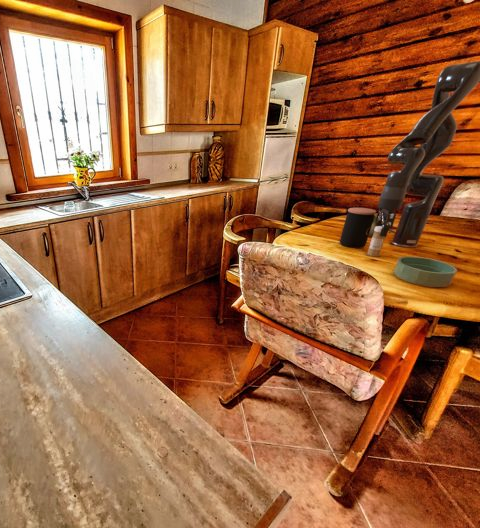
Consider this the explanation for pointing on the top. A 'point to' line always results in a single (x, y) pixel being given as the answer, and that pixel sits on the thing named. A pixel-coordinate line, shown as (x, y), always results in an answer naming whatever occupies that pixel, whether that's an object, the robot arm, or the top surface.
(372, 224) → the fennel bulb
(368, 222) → the coffee jar
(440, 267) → the shallow teal bowl
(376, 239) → the sprinkles bottle
